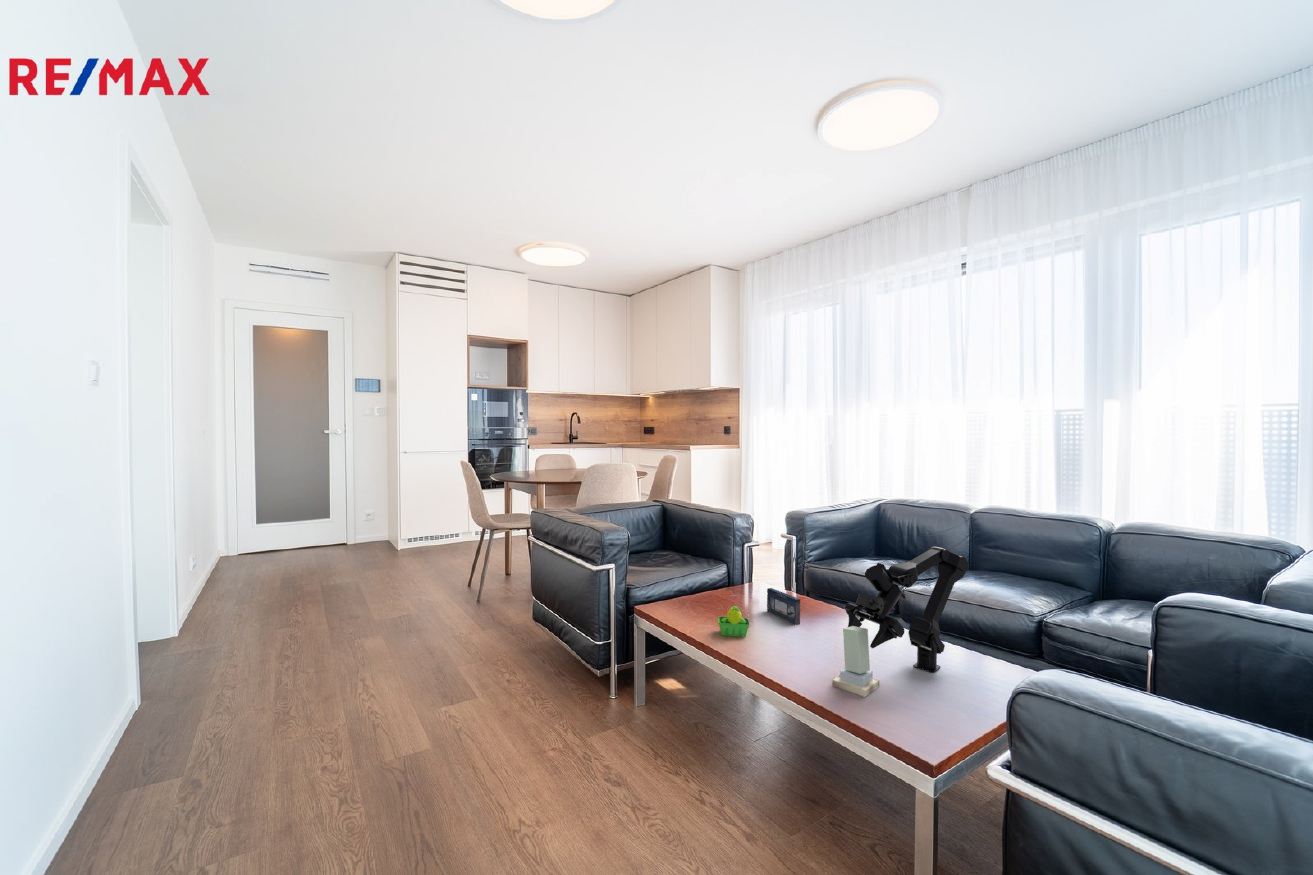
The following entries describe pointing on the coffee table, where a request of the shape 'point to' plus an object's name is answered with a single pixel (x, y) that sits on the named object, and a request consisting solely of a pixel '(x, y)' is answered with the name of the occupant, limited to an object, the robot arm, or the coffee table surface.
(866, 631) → the column
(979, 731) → the coffee table surface
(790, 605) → the vhs cassette tape
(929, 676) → the coffee table surface
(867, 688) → the tower base
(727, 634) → the fruit basket
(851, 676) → the tower top
